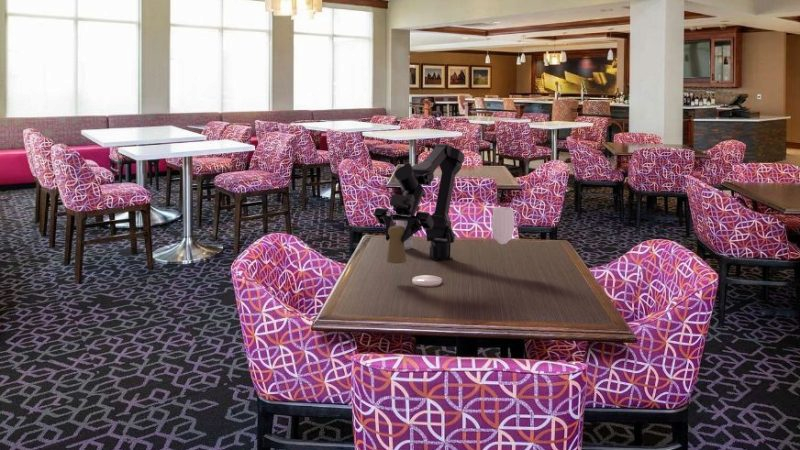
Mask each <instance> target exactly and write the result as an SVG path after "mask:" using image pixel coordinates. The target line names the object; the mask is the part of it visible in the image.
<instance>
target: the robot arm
mask: <svg viewBox="0 0 800 450" xmlns="http://www.w3.org/2000/svg"><path fill="white" fill-rule="evenodd" d="M464 161H465V154H464V153H463V152H462V150H461V149H459V148H455V147H453V146H451V145H450V144H448V143H445V144H444V143H437V144H435V145H434V147H433V149H432V150H431V152H429V154H428V155H427V156H426V157H425V159H424V160H422V162H419V163H416V164H414V165H413V166H412V164H411V163H404V164H403V166H400V167H399V168H397V170H395V171H394V178H395V179H396V181H397V183H398V185H399V187H400V188H401V190H403V191H404V192H403V194H394V193H393V194H390V198H389V206H392V207H393V208H392V209H393V211H394V213H393V212H391V211H390V210H389V209H388V208H385V207H384V208H383V207H376V208H375V209H374V212H373V216H374V218H375V219H376V220H377V222H378V224H379V225H383V226H385V240H386V241H389V240H390V236H389V234H388V229H389V227H391V226H395V225H396V224H395V221H396V220H397V221H406V222H407V227H406V229H405V231H404V234H403V236H402V239H401V241H402V243H403V242H405V241H406V240H407V239H408V238H409V237H411V236H412V237H413V235H414V234H416V233H417V232H419V231H422V230H423V229H424V230H425V235H426V241H427V242H430V245H429V255H428V256H427V257H428V258H429V259H432V260H434V261H437V262H438V261H439V262H440V261H448V260H453V259H454V258H453V257H452V256H451V244H452V243H453V244H454V242H455V240H456V234H455V233H454V231H453V228H452V221H451V219H450V216H449V213H450V207H451V202H452V201H451V200H452V196H453V190H454V183H455V179H456V175H457V174H458V173H459V172H460V171H461V169H462V167H463V163H464ZM438 168H439V169H440V170H441V175H440V181H439V187H438V192H437V197H436V203H435V204H436V205H435V209H434V212H433V213H432V214H430V212H427V211H420V202H421V200H422V198H425V197H426V192H425V189H424V186H429V185H431V184H432V182H433V180H434V179H435V174H434V173H435V171H436V169H438Z"/></svg>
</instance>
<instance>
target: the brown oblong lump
mask: <svg viewBox="0 0 800 450" xmlns="http://www.w3.org/2000/svg"><path fill="white" fill-rule="evenodd" d="M404 231H405V229H404V227H402V226H398V225H396V224H395V226H391V227H389V229H388V234H389V236H390V239H389V240H388V241H389V242H388V251H387V258H386V262H387V263H389V264H404V263H406V262H407V258H406V257H407V256H406V250H405V247H404V242H403V243H402V241H401V239H402V236H403V234H404Z"/></svg>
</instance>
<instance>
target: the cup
mask: <svg viewBox="0 0 800 450" xmlns="http://www.w3.org/2000/svg"><path fill="white" fill-rule="evenodd" d="M491 217H492V220H491V229H492V236H493V238H494V240H495V241H496V242H497V243H498V244H500V245H505V244H508V242H509V241H511V240H512V237H513V235H514V229H515V213H514V208H513V207H508V206H496V207H493V212H492V216H491Z"/></svg>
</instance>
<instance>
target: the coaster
mask: <svg viewBox="0 0 800 450" xmlns="http://www.w3.org/2000/svg"><path fill="white" fill-rule="evenodd" d="M442 280H443V278H441V277H439V276H436V275H425V274H423V275H418V276H417V275H416V276H413V277H412V282H411V283H412V284H413V285H415V286H419V287H437V286H439V285H440V286H441V284H442V283H443V281H442Z"/></svg>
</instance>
